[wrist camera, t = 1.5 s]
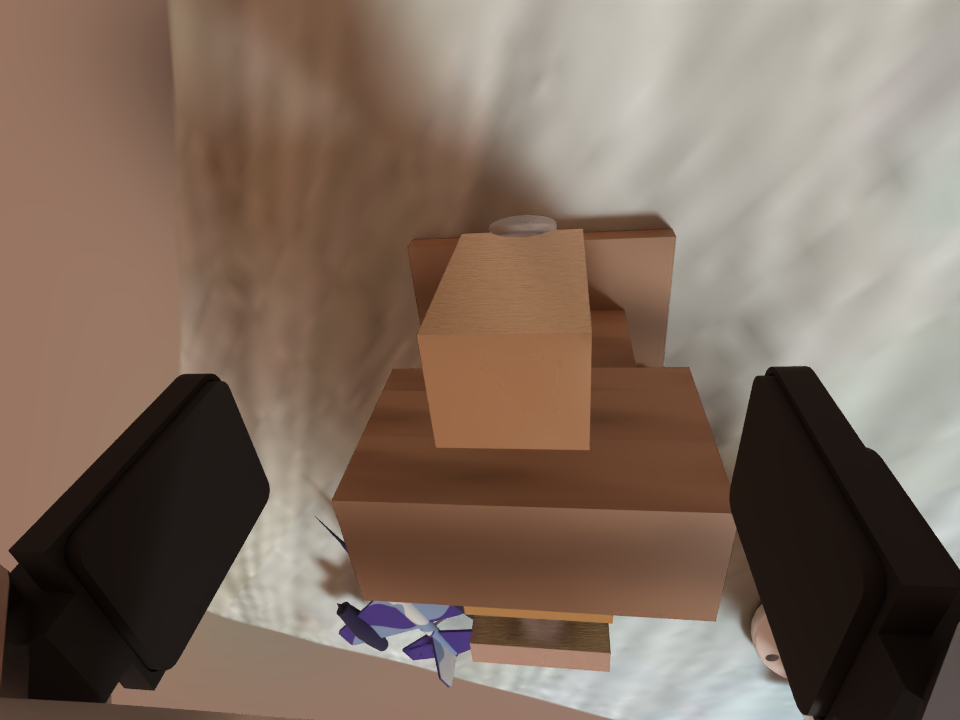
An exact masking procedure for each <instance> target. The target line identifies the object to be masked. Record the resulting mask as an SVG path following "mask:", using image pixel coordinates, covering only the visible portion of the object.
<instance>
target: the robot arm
mask: <svg viewBox="0 0 960 720" xmlns="http://www.w3.org/2000/svg"><path fill="white" fill-rule="evenodd" d="M269 492H270V488H269V482H268V480H267V477H266V475H265V473H264V470H263V468H262V465H261V463H260V460H259V458H258V456H257V453H256V451H255V448H254V446H253V443H252V441H251V439H250V436H249V434H248V431H247V429H246V427H245V424H244V422H243V419H242V417H241V414H240V412H239V410H238V407H237V405H236V402H235V400H234V397H233V395H232V393H231V390H230V388H229V386H228V384H226V383H225V382H223V381H221V380H220V378H219V377H218V376H216V375H214V374H183V375H180V376H179V377H177V378H176V379H175V380H174V381H173V382H172V383H171V384H170V385H169V386H168V387H167V388H166V389H165V391H163V392H162V394H161V395H160V396H159V397H158V398H157V399H156V400H155V401H154V402H153V403H152V404H151V405H150V406H149V407H148V408H147V409H146V410H145V411H144V412H143V413H142V414H141V415H140V416H139V417H138V418H137V419H136V420H135V421H134V422H133V423H132V424H131V425H130V426H129V427H128V429H126V430H125V431H124V432H123V434H122V435H121V436H120V437H119V438H118V439H117V440H116V441H115V442H114V443H113V444H112V445H111V446H110V447H109V448H108V449H107V450H106V451H105V452H104V453H103V454H102V455H101V456H100V457H99V458H98V459H97V460H96V461H95V462H94V463H93V464H92V465H91V466H90V467H89V468H88V469H87V470H86V471H85V473H83V474H82V476H81V477H80V478H79V479H78V480H77V481H76V482H75V483H74V484H73V485H72V486H71V487H70V488H69V489H68V490H67V491H66V492H65V493H64V494H63V495H62V496H61V497H60V498H59V499H58V500H57V501H56V502H55V503H54V504H53V505H52V506H51V507H50V508H49V509H48V510H47V511H46V512H45V513H44V515H43V516H42V517H41V518H40V519H39V520H38V521H37V522H36V523H35V524H34V525H33V526H32V527H31V528H30V529H29V530H28V531H27V532H26V533H25V534H24V535H23V536H22V537H21V538H20V539H19V540H18V541H17V542H16V543H15V544H14V545H13V546H12V547H11V548H10V549H9V552H10V553H11V554H12V556H13V557H14V558H15V559H16V560H17V562H18V563H19V564H18V565H17V566H16V567H15V568H14V569H13V570H12V571H11V573H10V572H9V571H8V570H7V569H6V568H4V567H3V566H2V565H0V720H312V719H299V718H287V717H274V716H262V715H249V714H236V713H222V712H210V711H196V710H183V709H170V708H156V707H143V706H130V705H116V704H112V700H111V693H112V692H113V690H114V688H115V687H116V685H117V684H118V682H120V683H121V685H122V686H123V687H124V688H129V689H141V690H155V688H156V687H157V685H158V683H159V681H160V680H161V678H162V676H163V674H164V673H165V671H166V670H168V669H170V668H172V667H173V666H174V665H175V664H176V662H177V661H178V659H179V658H180V656H181V654H182V653H183V651H184V649H185V647H186V645H187V644H188V642H189V640H190V638H191V637H192V635H193V633H194V631H195V629H196V628H197V626H198V624H199V622H200V620H201V619H202V617H203V615H204V614H205V612H206V610H207V608H208V606H209V605H210V603H211V601H212V599H213V597H214V596H215V594H216V592H217V590H218V589H219V587H220V585H221V583H222V581H223V580H224V578H225V576H226V574H227V573H228V571H229V569H230V567H231V565H232V564H233V562H234V560H235V558H236V557H237V555H238V553H239V551H240V549H241V548H242V546H243V544H244V542H245V541H246V539H247V537H248V535H249V533H250V532H251V530H252V528H253V526H254V525H255V523H256V521H257V519H258V517H259V516H260V514H261V512H262V510H263V509H264V507H265V505H266V503H267V501H268V498H269ZM729 502H730V509H731V513H732V516H733V519H734V522H735V525H736V528H737V531H738V534H739V537H740V540H741V543H742V546H743V549H744V552H745V555H746V558H747V561H748V564H749V566H750V569H751V572H752V575H753V578H754V581H755V584H756V587H757V590H758V593H759V596H760V599H761V602H762V604H761V605H760V607H759V608H758V609H757V610H756V612H755V614H754V617H753V619H752V622H751V635H752V640H753V643H754V647H755V649H756V652H757V654H758V657H759V658H760V659H761V660H762V661H763V663H764V664H765V665H766V666H767V667H769V668H770V669H771V670H773V671H774V672H775V673H777V674H779V675H781V676H783V677H785V678H787V679H788V682H789V685H790V688H791V691H792V693H793V696H794V699H795V702H796V704H797V707H798V709H799V710H800V712H801V713H802V715H803V718H804V719H803V720H960V569H959V568H958V566H957V565H956V564H955V562H954V561H953V559H952V558H951V556H950V555H949V554H948V552H947V551H946V549H945V548H944V546H943V545H942V544H941V542H940V541H939V539H938V538H937V536H936V535H935V534H934V532H933V531H932V529H931V528H930V526H929V525H928V524H927V522H926V521H925V519H924V518H923V516H922V515H921V514H920V512H919V511H918V509H917V508H916V506H915V505H914V504H913V502H912V501H911V499H910V498H909V496H908V495H907V494H906V492H905V491H904V489H903V488H902V486H901V485H900V484H899V482H898V481H897V479H896V478H895V476H894V475H893V474H892V472H891V471H890V469H889V468H888V466H887V465H886V464H885V462H884V461H883V459H882V458H881V457H880V456H879V455H878V454H877V453H876V452H875V451H874V450H872V449H870V448H866V447H865V446H864V444H863V443H862V441H861V440H860V438H859V437H858V435H857V434H856V432H855V431H854V430H853V428H852V427H851V425H850V424H849V422H848V421H847V419H846V418H845V416H844V415H843V413H842V412H841V410H840V409H839V408H838V406H837V405H836V403H835V402H834V400H833V399H832V397H831V396H830V394H829V393H828V391H827V390H826V388H825V387H824V385H823V384H822V383H821V381H820V380H819V378H818V377H817V375H816V374H815V372H814V371H813V370H812V369H811V368H810V367H807V366H791V367H770V368H768V370H767V371H766V373H765V376H756V377H755V379H754V381H753V385H752V390H751V394H750V399H749V404H748V408H747V413H746V418H745V422H744V427H743V432H742V436H741V441H740V445H739V450H738V455H737V459H736V464H735V469H734V473H733V478H732V483H731V487H730V493H729Z"/></svg>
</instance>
